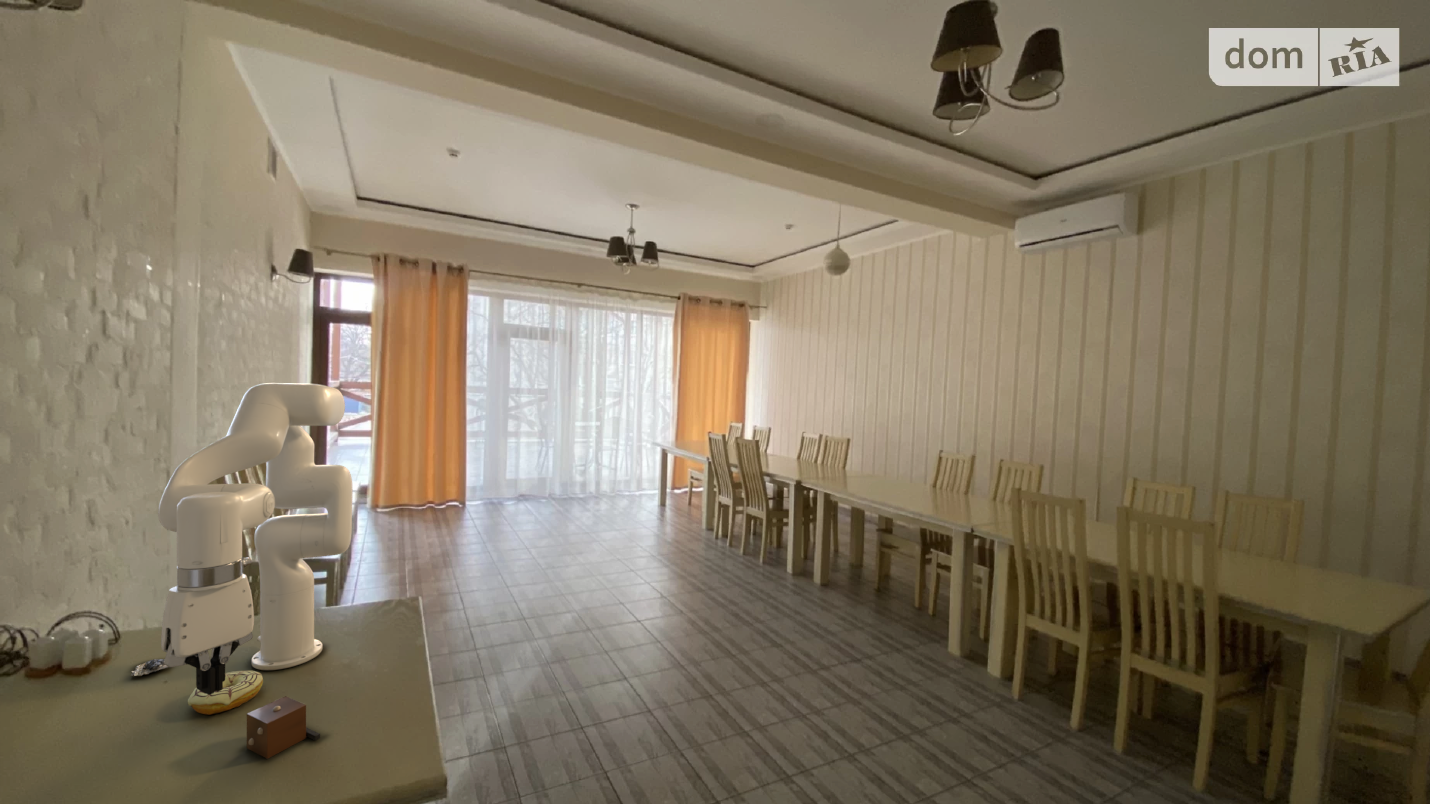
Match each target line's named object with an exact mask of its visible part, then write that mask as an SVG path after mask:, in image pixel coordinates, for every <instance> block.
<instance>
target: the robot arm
mask: <svg viewBox="0 0 1430 804" xmlns="http://www.w3.org/2000/svg"><path fill="white" fill-rule="evenodd" d="M345 410H346V402H345V398H344V396H343V394H342V392H341V391H340V390H339V389H338V388H336V387H333V386H328V385H325V384H318V383H293V382H292V383H288V382H287V383H286V382H285V383H284V382H267V383H266V382H265V383H260V384H256V385H253V386H252V387H250V388H249V389H247V390H246V391H245V393H244V394H243V396H242V398H241V400H240V403H239V406H237V410H236V412H235V415H234V417H233V419H232V421H231V424H230V426H229V428H228V430H227V433H226V435H225V436H223V437H222V438H219V439H217V440H215V441H213V442H211V443H209V444H208V445H206V446H204V447H203V448H201V449H199V450H197V451H195V452H194V453H193V454H191V455H190V456H188V457H187V458H186V459H184V460H183V461H182V462H181V463H180V464H178V466H177V467H176V468H175V470H174V472H172V474H171V477H170V478H169V481H168V482H167V485H166V487H165V488H164V490H163V493H162V496H161V498H160V501H159V505H158V510H157V515H158V516H157V517H158V520H159V523H160V525H161V526H162V527H163V528H164V529H166V530H167V531H169V532H174V533H176V586H172V587H171V588H170V589H169V590H168V593H167V597H166V601H165V605H164V610H163V616H162V623H161V625H162V626H161V637H160V647H161V651H163V652H165V653H166V654H165V657H164V660H165V661H164V665H166V666H168V667H167V668H175V667H182V666H186V665H187V666H191V667H193V668H195V670H196V671H195V688H197V689H198V690H200V691H202V692H204V693H206V694H208V695H210V694H213V693H214V692H215V691H217V692H218V691H220V690H222V689H223V681H225V673H226V664H227V663H228V662H229V661H230V657H231V656H232V654H233V653H234V652H235V651H236V650H237V648H238V647H240V646H242V645H245V643H248V642H249V641H251V640H253V638H254V635H253V630H254V626H255V625H254V624H255V612H254V611H255V610H254V602H253V596H252V590H251V586H250V582H249V579H248V576H247V574H245V572H244V570H245V568H246V567H249V566H251V565H252V564H253V560H252V557H250V556H248V557H244V556H243V531H245V530H246V531H247V530H250V529H254V528H256V529H255V531H254V536H253V538H254V539H253V542H254V548H255V552H256V557H257V562H258V568H259V569H258V570H259V592H260V593H259V606H260V607H259V611H260V612H259V616H260V617H259V620H260V624H259V626H260V632H259V633H260V635H258V637H257V639H256V641H257V642H259V643H260V650H259V651H256V652H255V654H254V655H252V657H251V666H252V668H254V669H256V670H259V671H260V670H261V671H277V670H283V669H288V668H292V667H296V666H298V665H302V664H305V663H307V662H309V661H311V660H312V659H314V658H316V657H317V656H319V655H320V654H321V653H322V651H323V642H321V641H320V640H319V639H316V638H315V575H314V572H313V570H312V568H311V567H310V565H309V564H308V563H307V562H306V561H305V560H304V559H308V558H319V557H322V558H323V557H332V556H338V555H341V554H344V553H345V552H346V551H347V550H348V549H349V548H350V545H351V541H352V535H353V534H352V530H353V494H354V493H353V491H354V490H353V478H352V477H353V476H352V474H351V472H350V470H349V469H348V467H346V466H344V465H340V464H316V463H315V442H314V440H313V439H312V437H311V436H310V434H309V433H308V432H307V431H306V430H305V429H304V428H303V427H319V426H321V427H326V426H327V427H328V426H329V427H333V426H336V425H338V424H339V423H340V422H341V421H342V419H343V417H344V415H345V412H346V411H345ZM265 463H266V466H265V467H266V468H265V485H264V484H261V483H251V482H249V483H248V482H246V483H243V482H242V483H212V482H214V481H216V480H218V479H220V478H222V477H226V476H227V475H232V474H234V473H237V472H238V473H239V472H241V471H245V470H247V469H251V468H254V467H257V466H259V465H263V464H265ZM312 508H313V509H315V508H324V509H326V511H327V512H323V513H301V514H300V513H299V514H284V515H277V516H273V517H271V516H272V514H273V513H274V511H275V509H278V510H279V509H280V510H282V509H283V510H293V509H312ZM209 650H211V654H210V653H209Z"/></svg>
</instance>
